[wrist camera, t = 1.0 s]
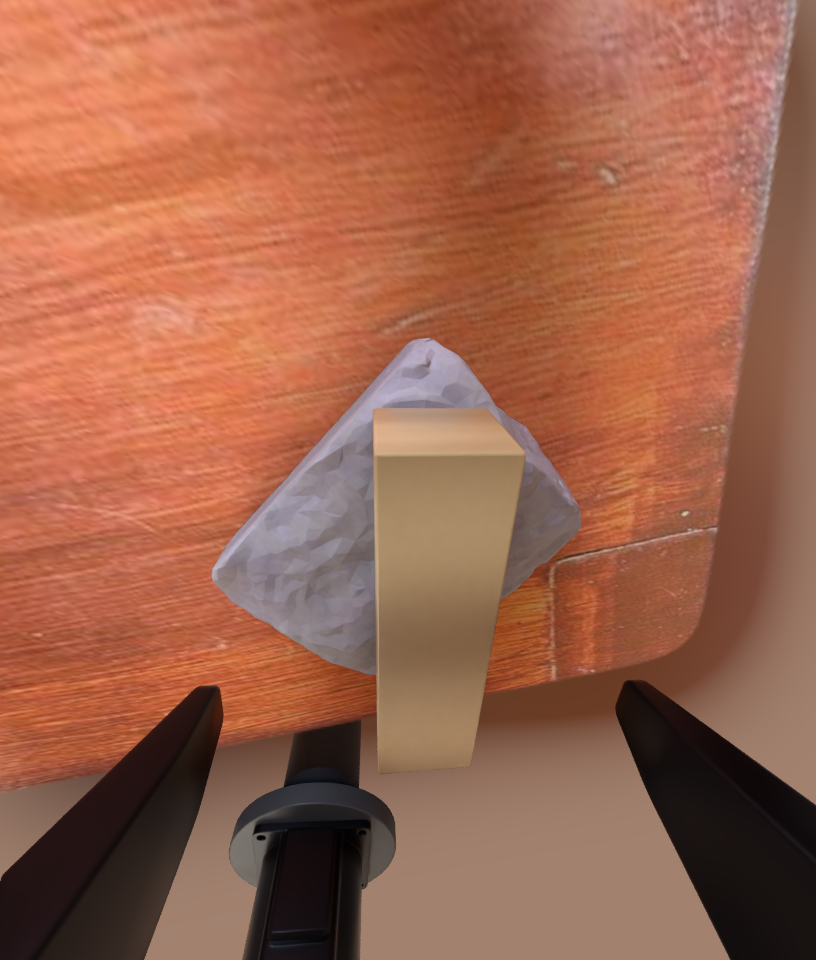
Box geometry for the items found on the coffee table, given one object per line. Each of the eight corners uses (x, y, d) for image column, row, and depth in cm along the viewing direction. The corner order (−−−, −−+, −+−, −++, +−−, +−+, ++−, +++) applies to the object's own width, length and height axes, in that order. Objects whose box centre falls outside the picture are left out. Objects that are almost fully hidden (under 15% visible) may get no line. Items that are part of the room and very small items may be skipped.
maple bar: (453, 683, 15) (471, 768, 13) (376, 687, 15) (377, 775, 12) (487, 407, 10) (528, 452, 8) (372, 407, 10) (373, 453, 7)
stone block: (559, 463, 18) (405, 302, 13) (629, 528, 14) (445, 332, 9) (387, 615, 21) (210, 532, 16) (403, 704, 17) (176, 629, 12)
